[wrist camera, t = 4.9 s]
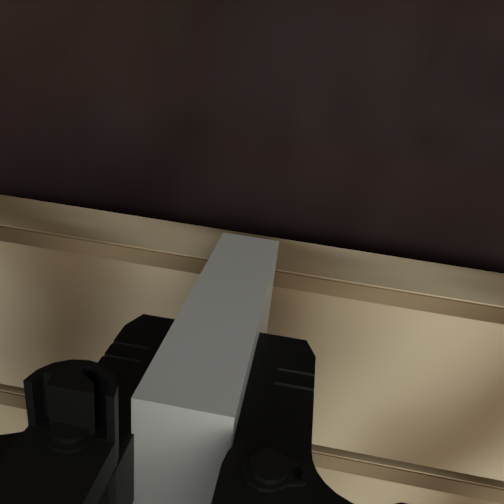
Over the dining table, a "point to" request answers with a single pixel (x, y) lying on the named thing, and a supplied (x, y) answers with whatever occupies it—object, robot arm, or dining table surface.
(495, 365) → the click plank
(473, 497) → the laid plank
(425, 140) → the dining table surface
